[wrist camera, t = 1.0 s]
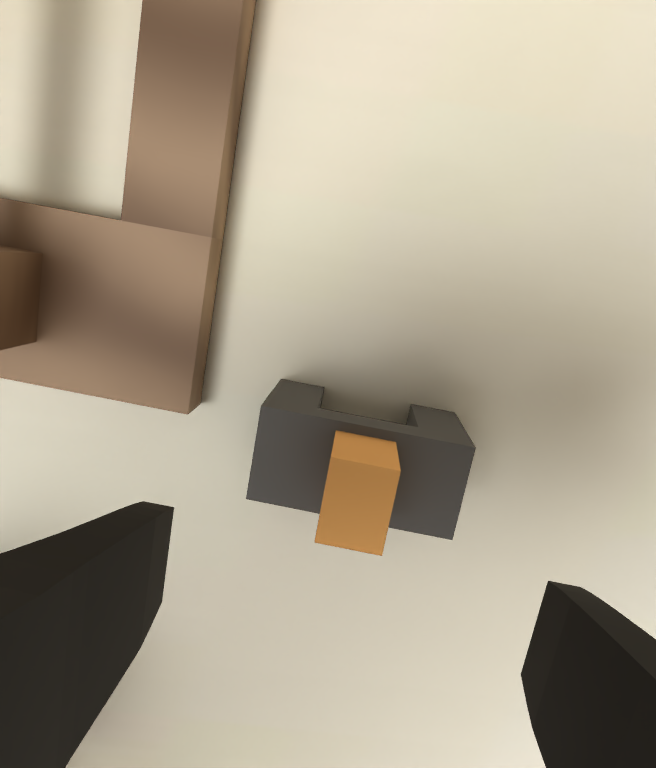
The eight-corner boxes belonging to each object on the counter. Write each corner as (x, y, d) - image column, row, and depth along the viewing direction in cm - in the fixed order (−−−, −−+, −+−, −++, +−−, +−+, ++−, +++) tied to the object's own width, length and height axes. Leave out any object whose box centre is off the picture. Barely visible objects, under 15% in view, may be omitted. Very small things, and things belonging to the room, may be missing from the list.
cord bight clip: (436, 489, 21) (466, 583, 15) (268, 455, 21) (227, 535, 15) (454, 412, 20) (493, 477, 14) (281, 379, 21) (244, 428, 14)
